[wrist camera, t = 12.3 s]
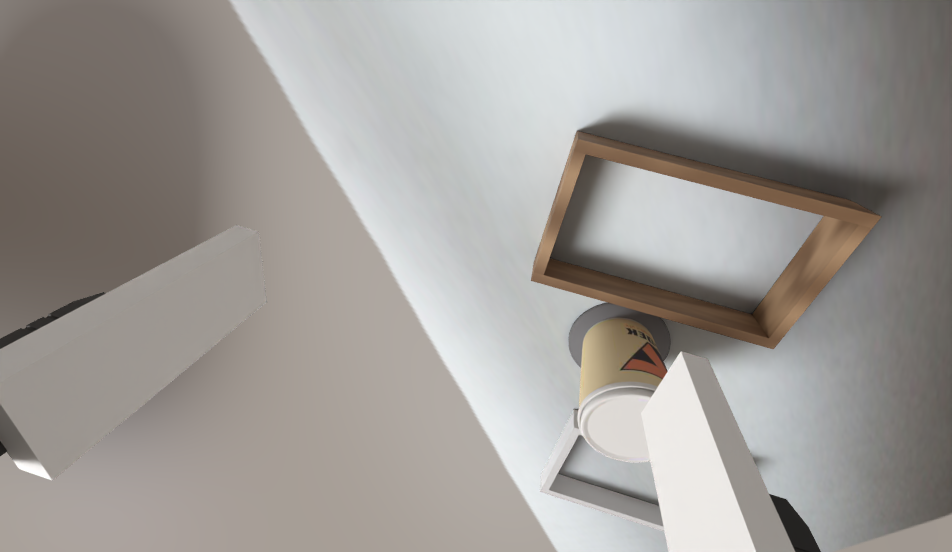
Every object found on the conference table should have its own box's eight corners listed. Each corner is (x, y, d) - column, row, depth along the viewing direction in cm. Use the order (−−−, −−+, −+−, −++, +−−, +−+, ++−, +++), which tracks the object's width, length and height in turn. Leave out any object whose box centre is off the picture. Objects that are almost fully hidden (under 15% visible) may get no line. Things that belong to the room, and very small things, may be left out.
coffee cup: (679, 350, 43) (714, 441, 33) (609, 386, 48) (621, 476, 38) (626, 295, 42) (645, 375, 31) (558, 339, 46) (556, 420, 36)
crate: (576, 130, 35) (577, 139, 32) (849, 200, 34) (881, 216, 30) (533, 262, 42) (530, 280, 39) (756, 324, 41) (773, 349, 37)
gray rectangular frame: (573, 409, 52) (573, 427, 49) (739, 459, 50) (748, 481, 48) (541, 472, 60) (539, 491, 57) (684, 518, 58) (689, 539, 56)
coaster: (587, 290, 43) (587, 292, 42) (687, 318, 42) (688, 321, 42) (556, 361, 49) (556, 365, 48) (644, 387, 48) (645, 391, 47)
